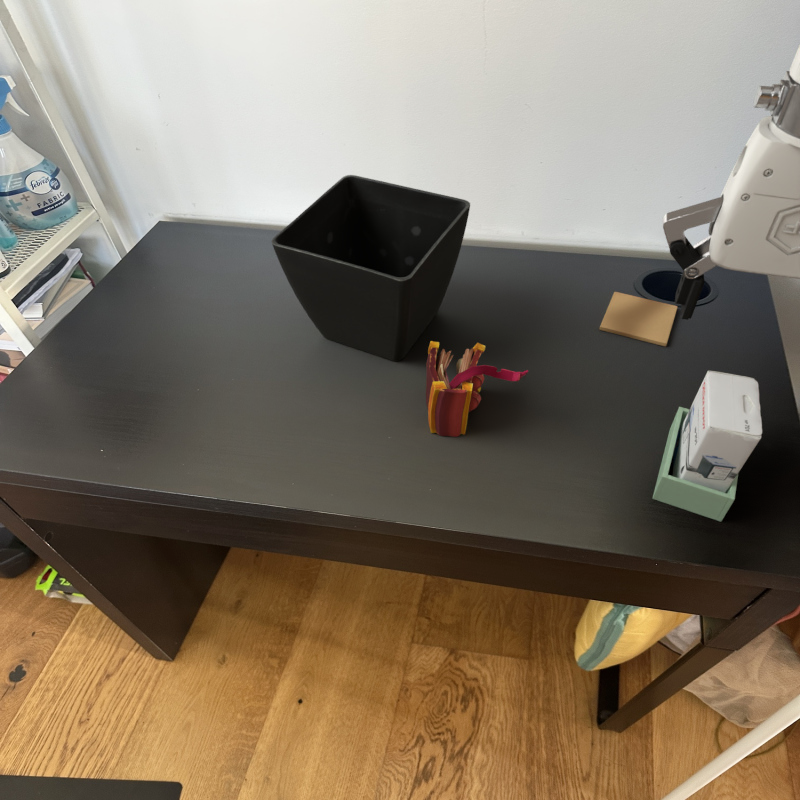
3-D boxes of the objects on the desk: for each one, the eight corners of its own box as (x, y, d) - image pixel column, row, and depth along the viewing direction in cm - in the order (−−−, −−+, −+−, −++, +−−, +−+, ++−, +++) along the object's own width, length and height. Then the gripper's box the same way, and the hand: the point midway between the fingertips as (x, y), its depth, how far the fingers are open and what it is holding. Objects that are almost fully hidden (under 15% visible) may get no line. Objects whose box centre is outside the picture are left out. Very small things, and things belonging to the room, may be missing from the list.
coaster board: (676, 309, 90) (677, 306, 90) (665, 346, 85) (666, 343, 84) (613, 294, 93) (614, 291, 93) (599, 329, 88) (600, 326, 87)
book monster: (427, 380, 81) (519, 398, 79) (411, 432, 75) (510, 453, 74) (431, 317, 73) (534, 335, 72) (414, 370, 67) (525, 391, 66)
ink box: (673, 440, 73) (705, 367, 65) (719, 450, 72) (758, 376, 64) (670, 499, 68) (705, 426, 59) (720, 510, 66) (763, 438, 58)
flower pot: (410, 387, 81) (407, 278, 69) (289, 346, 87) (266, 240, 75) (467, 305, 92) (473, 200, 80) (356, 275, 99) (346, 173, 87)
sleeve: (732, 448, 72) (745, 425, 69) (721, 522, 65) (734, 499, 62) (669, 429, 74) (679, 406, 72) (652, 498, 68) (662, 476, 65)
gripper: (700, 122, 40) (637, 330, 52) (1018, 147, 36) (869, 364, 49) (697, 81, 45) (640, 279, 57) (976, 98, 41) (850, 307, 53)
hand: (745, 318), depth 53 cm, fingers open, 9 cm apart
